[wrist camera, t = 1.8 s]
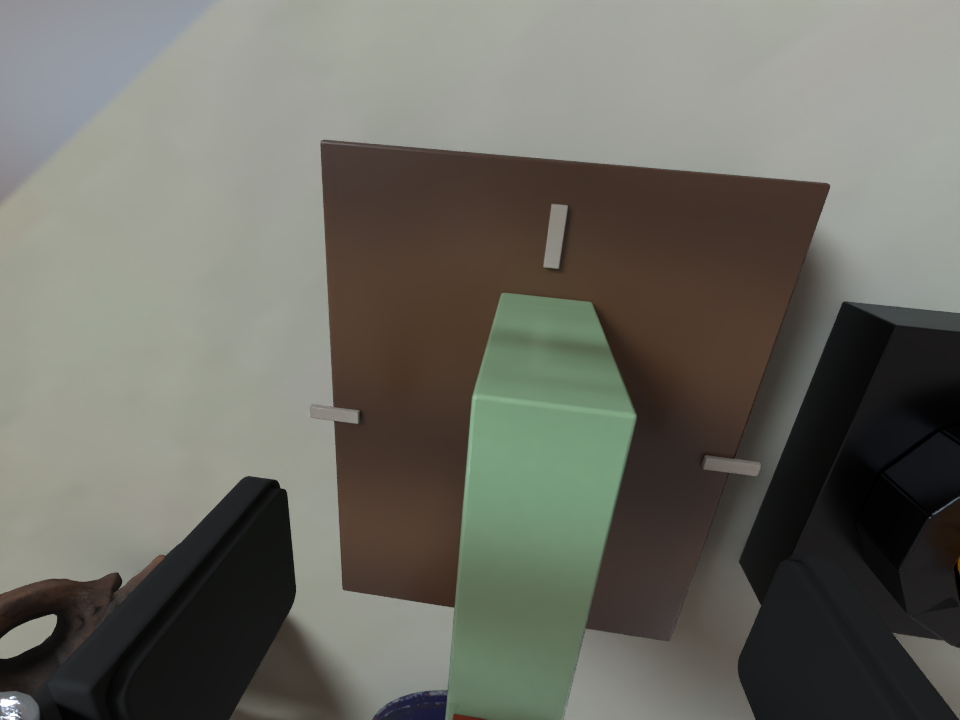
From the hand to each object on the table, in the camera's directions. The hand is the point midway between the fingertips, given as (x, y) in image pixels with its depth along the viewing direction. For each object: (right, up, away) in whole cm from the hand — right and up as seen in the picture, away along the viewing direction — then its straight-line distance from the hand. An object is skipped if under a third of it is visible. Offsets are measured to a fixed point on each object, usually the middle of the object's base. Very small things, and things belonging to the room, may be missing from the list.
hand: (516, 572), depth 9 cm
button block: (+14, +1, +6) cm, 15 cm away
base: (+1, +3, +7) cm, 7 cm away
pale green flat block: (+1, +2, +4) cm, 4 cm away
